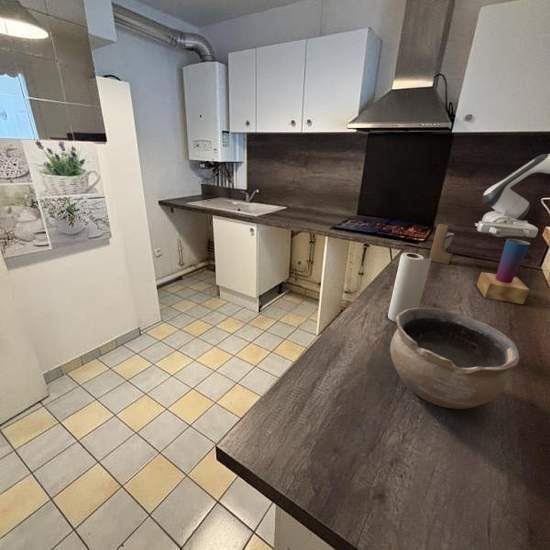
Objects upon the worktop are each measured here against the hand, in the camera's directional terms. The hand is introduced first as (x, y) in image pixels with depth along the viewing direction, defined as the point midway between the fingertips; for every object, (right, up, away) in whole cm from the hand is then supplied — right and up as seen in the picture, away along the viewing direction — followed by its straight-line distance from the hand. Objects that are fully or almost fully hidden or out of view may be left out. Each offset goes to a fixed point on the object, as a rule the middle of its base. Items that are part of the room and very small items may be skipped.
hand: (512, 233), depth 115 cm
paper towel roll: (-54, -31, -23) cm, 67 cm away
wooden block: (-13, -10, +28) cm, 33 cm away
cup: (-8, -19, -6) cm, 21 cm away
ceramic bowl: (-58, -42, -49) cm, 87 cm away
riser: (-8, -24, -4) cm, 26 cm away
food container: (-5, -4, +43) cm, 44 cm away
